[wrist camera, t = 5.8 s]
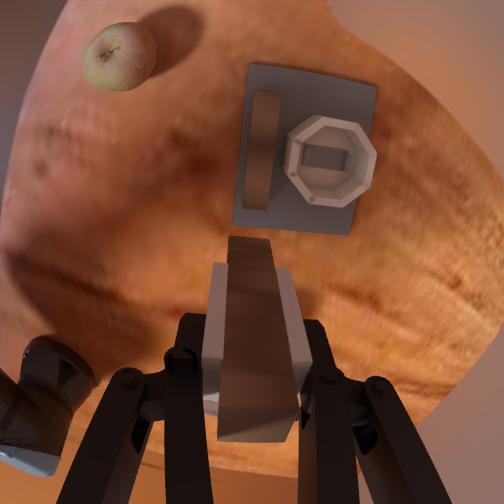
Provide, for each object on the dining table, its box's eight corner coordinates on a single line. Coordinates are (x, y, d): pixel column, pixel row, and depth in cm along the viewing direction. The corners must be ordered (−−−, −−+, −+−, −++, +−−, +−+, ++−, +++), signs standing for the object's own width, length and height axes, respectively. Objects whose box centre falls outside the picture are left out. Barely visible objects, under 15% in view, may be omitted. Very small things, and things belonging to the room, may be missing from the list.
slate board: (232, 222, 36) (232, 225, 35) (248, 64, 28) (249, 63, 27) (346, 232, 37) (348, 235, 36) (373, 87, 29) (377, 87, 28)
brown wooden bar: (226, 270, 20) (217, 440, 10) (228, 235, 19) (218, 406, 9) (264, 273, 20) (284, 442, 10) (269, 239, 19) (299, 408, 9)
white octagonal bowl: (278, 190, 33) (283, 201, 30) (289, 110, 29) (296, 111, 26) (352, 199, 34) (364, 210, 31) (366, 125, 30) (381, 128, 27)
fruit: (131, 106, 29) (102, 109, 22) (89, 68, 26) (53, 64, 19) (179, 55, 27) (163, 42, 20) (135, 18, 24) (108, -1, 17)
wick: (264, 202, 34) (266, 210, 32) (241, 200, 34) (242, 208, 32) (278, 94, 29) (281, 93, 26) (253, 91, 28) (255, 90, 26)
